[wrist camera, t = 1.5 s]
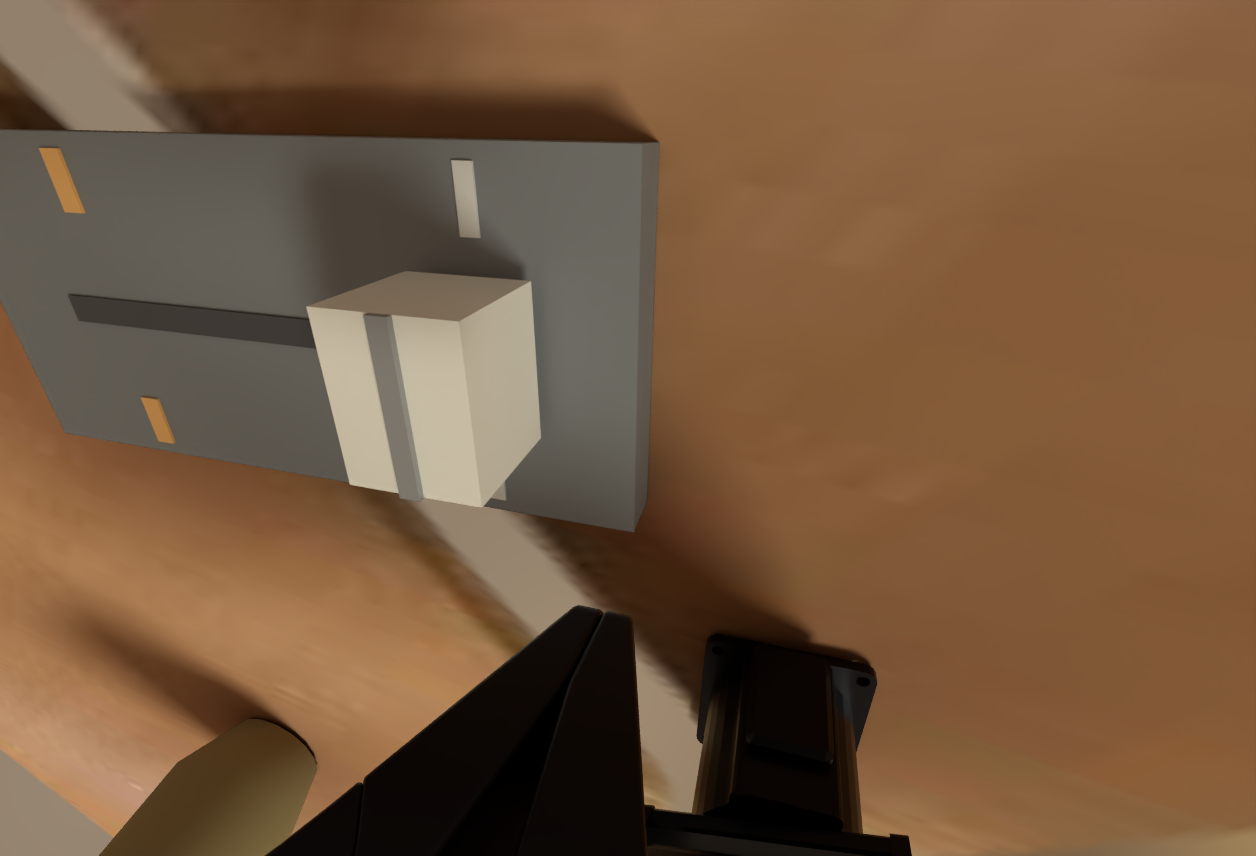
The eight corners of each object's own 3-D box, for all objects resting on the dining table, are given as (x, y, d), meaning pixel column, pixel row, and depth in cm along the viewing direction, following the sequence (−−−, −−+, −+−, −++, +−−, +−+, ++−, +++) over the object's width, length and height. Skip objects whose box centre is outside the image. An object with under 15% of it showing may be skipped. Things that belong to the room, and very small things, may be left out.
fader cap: (541, 438, 19) (478, 512, 15) (429, 421, 19) (345, 488, 16) (531, 280, 16) (454, 324, 13) (405, 270, 17) (299, 308, 14)
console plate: (647, 500, 22) (633, 534, 20) (111, 414, 27) (62, 434, 26) (659, 142, 16) (641, 143, 14) (-15, 128, 22) (-89, 128, 20)
